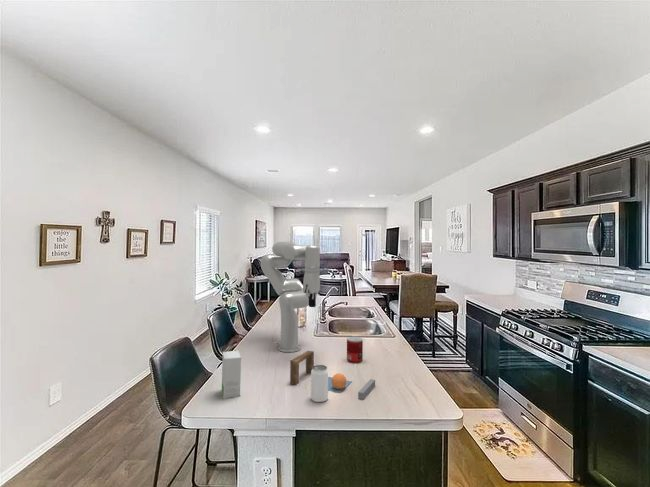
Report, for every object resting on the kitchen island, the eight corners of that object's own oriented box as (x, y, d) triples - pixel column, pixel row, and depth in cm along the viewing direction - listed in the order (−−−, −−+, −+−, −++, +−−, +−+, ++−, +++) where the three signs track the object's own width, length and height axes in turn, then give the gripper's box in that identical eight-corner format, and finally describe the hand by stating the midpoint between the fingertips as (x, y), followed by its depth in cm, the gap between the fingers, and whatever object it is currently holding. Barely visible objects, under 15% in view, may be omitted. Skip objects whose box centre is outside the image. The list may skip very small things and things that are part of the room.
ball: (339, 393, 135) (327, 386, 138) (346, 389, 141) (334, 382, 144) (344, 379, 135) (331, 372, 138) (350, 375, 140) (338, 369, 143)
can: (310, 395, 133) (310, 364, 133) (327, 394, 134) (327, 364, 134) (311, 403, 127) (311, 370, 127) (328, 402, 127) (328, 370, 127)
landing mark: (313, 387, 141) (313, 386, 141) (326, 376, 151) (326, 376, 151) (340, 393, 135) (340, 392, 135) (351, 382, 146) (351, 381, 146)
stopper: (358, 398, 130) (358, 392, 130) (370, 384, 143) (370, 378, 143) (363, 399, 130) (363, 393, 130) (375, 385, 142) (375, 379, 142)
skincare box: (221, 390, 137) (221, 351, 137) (238, 387, 140) (238, 349, 140) (223, 399, 130) (223, 358, 129) (241, 396, 132) (241, 356, 132)
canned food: (361, 363, 168) (361, 341, 167) (345, 362, 169) (345, 340, 169) (363, 358, 175) (363, 337, 175) (347, 357, 177) (347, 336, 177)
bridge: (290, 383, 144) (290, 360, 144) (308, 371, 157) (308, 350, 157) (296, 384, 143) (296, 361, 143) (313, 372, 156) (313, 351, 156)
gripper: (313, 268, 180) (312, 303, 180) (298, 271, 167) (297, 308, 167) (325, 269, 176) (325, 305, 177) (311, 271, 163) (311, 310, 163)
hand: (312, 306), depth 172 cm, fingers closed
